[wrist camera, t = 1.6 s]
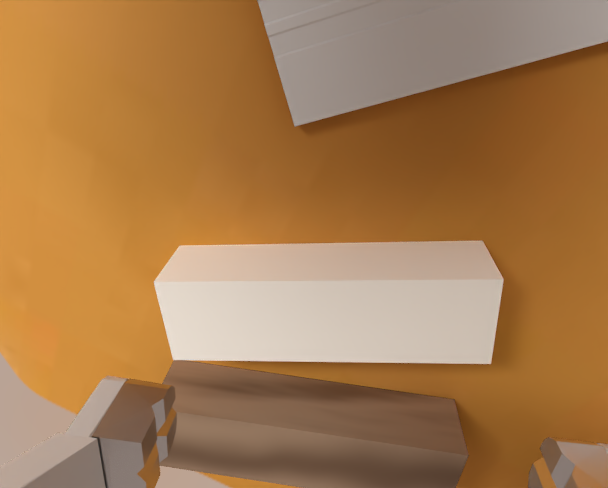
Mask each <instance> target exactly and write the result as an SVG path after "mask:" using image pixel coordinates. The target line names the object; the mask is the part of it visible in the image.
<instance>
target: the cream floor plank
mask: <svg viewBox="0 0 608 488" xmlns="http://www.w3.org/2000/svg"><path fill="white" fill-rule="evenodd" d="M503 281H504V279H503V277H502V275H501V273H500V272H499V270H498V268H497V266H496V264H495V262H494V261H493V259H492V257H491V255H490V253H489V251H488V250H487V248H486V246H485V244H484V242H483V241H427V242H367V243H307V244H247V245H187V246H179V247H178V249H177V250H176V251H175V253H174V254H173V256H172V257H171V258H170V260H169V261H168V263H167V264H166V265H165V267H164V268H163V270H162V271H161V272H160V274H159V275H158V277H157V278H156V279H155V281H154V285H155V289H156V293H157V297H158V301H159V305H160V309H161V313H162V317H163V321H164V325H165V329H166V333H167V337H168V341H169V345H170V349H171V353H172V357H173V360H212V361H292V362H371V363H451V364H491V360H492V354H493V347H494V340H495V334H496V327H497V320H498V314H499V307H500V301H501V294H502V287H503Z"/></svg>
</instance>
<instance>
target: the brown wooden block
mask: <svg viewBox="0 0 608 488" xmlns="http://www.w3.org/2000/svg"><path fill="white" fill-rule="evenodd" d="M162 384H166V385H172V386H173V387H175V395H176V399H175V401H174V403H173V405H172V408H173V409H174V410H175V411H176V413H177V426H176V433H175V437H174V441H173V445H172V447H171V450H170V452H169V455H168V457H166V458H165V459H164V460H162V461H161V462H160V463H159V465H160V466H166V467H172V468H179V469H186V470H192V471H198V472H205V473H211V474H218V475H224V476H231V477H237V478H244V479H250V480H257V481H263V482H270V483H276V484H283V485H289V486H296V487H302V488H456V486H457V483H458V481H459V478H460V476H461V473H462V471H463V468H464V466H465V463H466V461H467V458H468V456H469V455H468V451H467V447H466V443H465V439H464V435H463V431H462V427H461V423H460V419H459V416H458V412H457V408H456V404H455V400H454V399H447V398H440V397H433V396H426V395H419V394H413V393H406V392H399V391H392V390H385V389H378V388H371V387H364V386H357V385H350V384H344V383H337V382H330V381H323V380H316V379H309V378H302V377H295V376H288V375H281V374H275V373H268V372H261V371H254V370H247V369H240V368H233V367H226V366H219V365H212V364H206V363H199V362H192V361H185V360H174V361H173V363H172V365H171V367H170V369H169V371H168V373H167V375H166V377H165V379H164V381H163V383H162Z"/></svg>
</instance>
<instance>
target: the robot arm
mask: <svg viewBox="0 0 608 488" xmlns="http://www.w3.org/2000/svg"><path fill="white" fill-rule="evenodd" d="M175 399H176V395H175V387H173V386H172V385H166V384H159V383H153V382H147V381H141V380H135V379H126V378H120V377H114V376H106V377H105V378H104V379H102V380H101V381H100V383H99V384H98V386H97V387H96V389H95V390H94V391H93V393H92V394H91V396H90V397H89V399H88V400H87V402H86V403H85V405H84V406H83V407H82V409H81V410H80V412H79V413H78V415H77V416H76V418H75V419H74V421H73V422H72V423H71V425H70V426H69V428H68V429H67V431H66V432H65V433H56V434H55V435H53V436H51V437H50V438H48V439H46V440H44V441H43V442H41V443H40V444H38V445H36V446H35V447H33V448H31V449H29V450H27V451H26V452H24V453H22V454H21V455H19V456H17V457H16V458H14V459H12V460H10V461H9V462H7V463H5V464H4V465H2V466H0V488H155V486H156V483H157V481H158V479H159V476H160V467H159V466H160V465H159V463H160V462H161V461H162V460H164V459H165V458H166V457H168V455H169V452H170V450H171V447H172V445H173V441H174V437H175V433H176V426H177V413H176V411H175V410H174V409H173V408H172V405H173V403H174V401H175ZM540 450H541V452H542V455H543V457H542V458H540V459H539V460H537V461H535V462H534V463H533V465H532V467H531V470H530V472H529V483H528V488H608V444H602V443H594V442H587V441H579V440H571V439H563V438H555V437H548V438H546V439H545V440H544V441H543V443H542V445H541V447H540Z"/></svg>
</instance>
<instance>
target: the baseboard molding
mask: <svg viewBox="0 0 608 488" xmlns="http://www.w3.org/2000/svg"><path fill="white" fill-rule="evenodd" d="M257 1H258V4H259V7H260V11H261V14H262V17H263V21H264V24H265V28H266V32H267V35H268V38H269V41H270V44H271V48H272V51H273V54H274V59H275V62H276V65H277V69H278V72H279V76H280V79H281V82H282V86H283V89H284V92H285V96H286V99H287V102H288V106H289V109H290V113H291V116H292V119H293V123H294V126H299V125H302V124H306V123H310V122H313V121H317V120H321V119H324V118H328V117H332V116H336V115H339V114H343V113H347V112H350V111H354V110H358V109H361V108H365V107H369V106H372V105H376V104H380V103H383V102H387V101H391V100H394V99H398V98H402V97H405V96H409V95H413V94H416V93H420V92H424V91H427V90H431V89H435V88H438V87H442V86H446V85H449V84H453V83H457V82H460V81H464V80H468V79H471V78H475V77H479V76H483V75H486V74H490V73H494V72H497V71H501V70H505V69H508V68H512V67H516V66H519V65H523V64H527V63H530V62H534V61H538V60H541V59H545V58H549V57H552V56H556V55H560V54H563V53H567V52H571V51H574V50H578V49H582V48H585V47H589V46H593V45H596V44H600V43H604V42H607V41H608V0H257Z"/></svg>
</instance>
